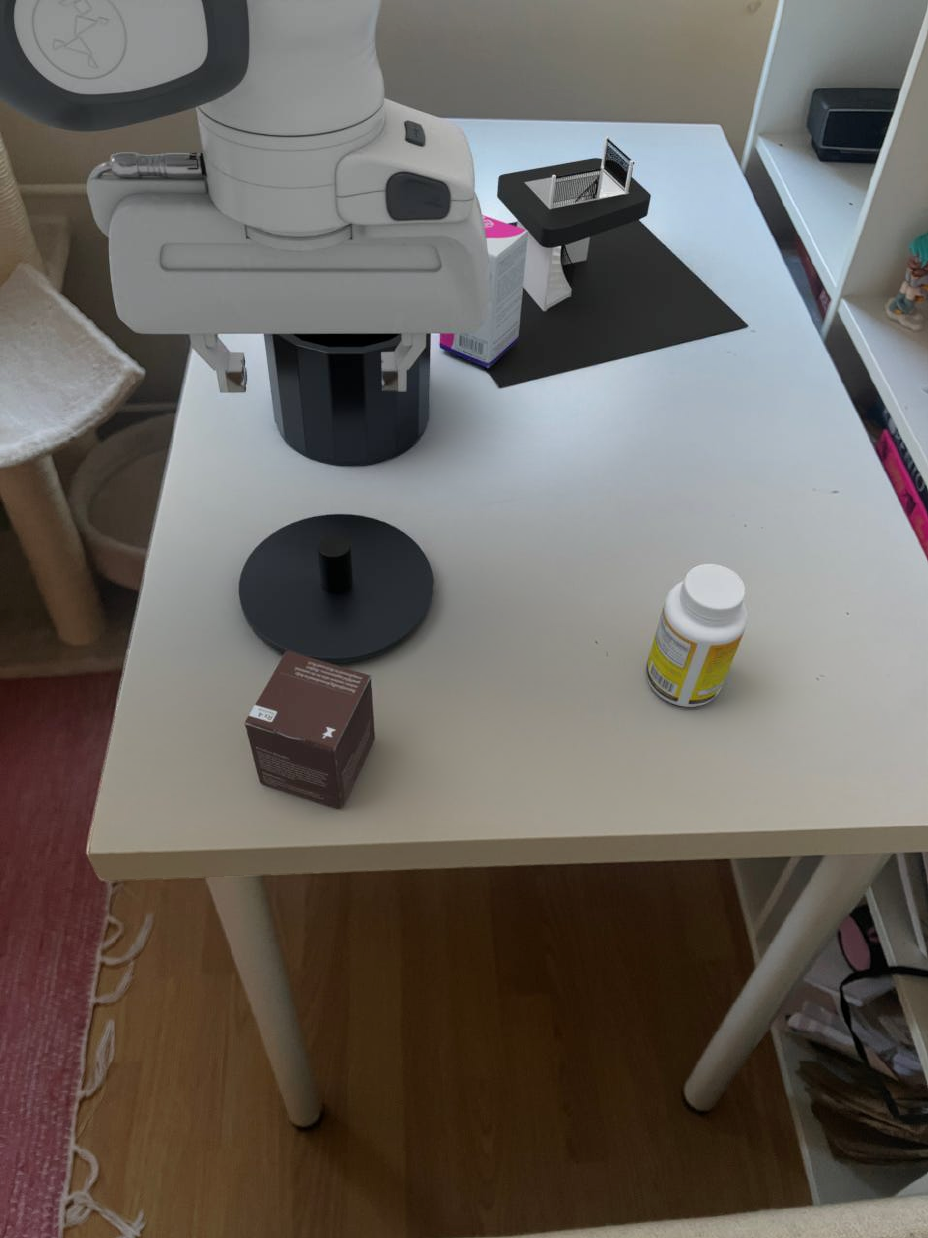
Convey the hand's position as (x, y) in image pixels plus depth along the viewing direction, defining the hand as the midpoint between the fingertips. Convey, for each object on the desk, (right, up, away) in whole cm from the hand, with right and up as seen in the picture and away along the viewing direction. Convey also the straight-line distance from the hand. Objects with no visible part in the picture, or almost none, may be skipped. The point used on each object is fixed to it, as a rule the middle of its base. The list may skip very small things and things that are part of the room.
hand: (314, 386), depth 60 cm
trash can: (-1, +4, +30) cm, 30 cm away
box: (-1, -24, +7) cm, 25 cm away
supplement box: (+10, +13, +37) cm, 41 cm away
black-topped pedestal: (+20, +21, +45) cm, 54 cm away
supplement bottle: (+25, -18, +13) cm, 33 cm away
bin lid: (-1, -11, +16) cm, 20 cm away
